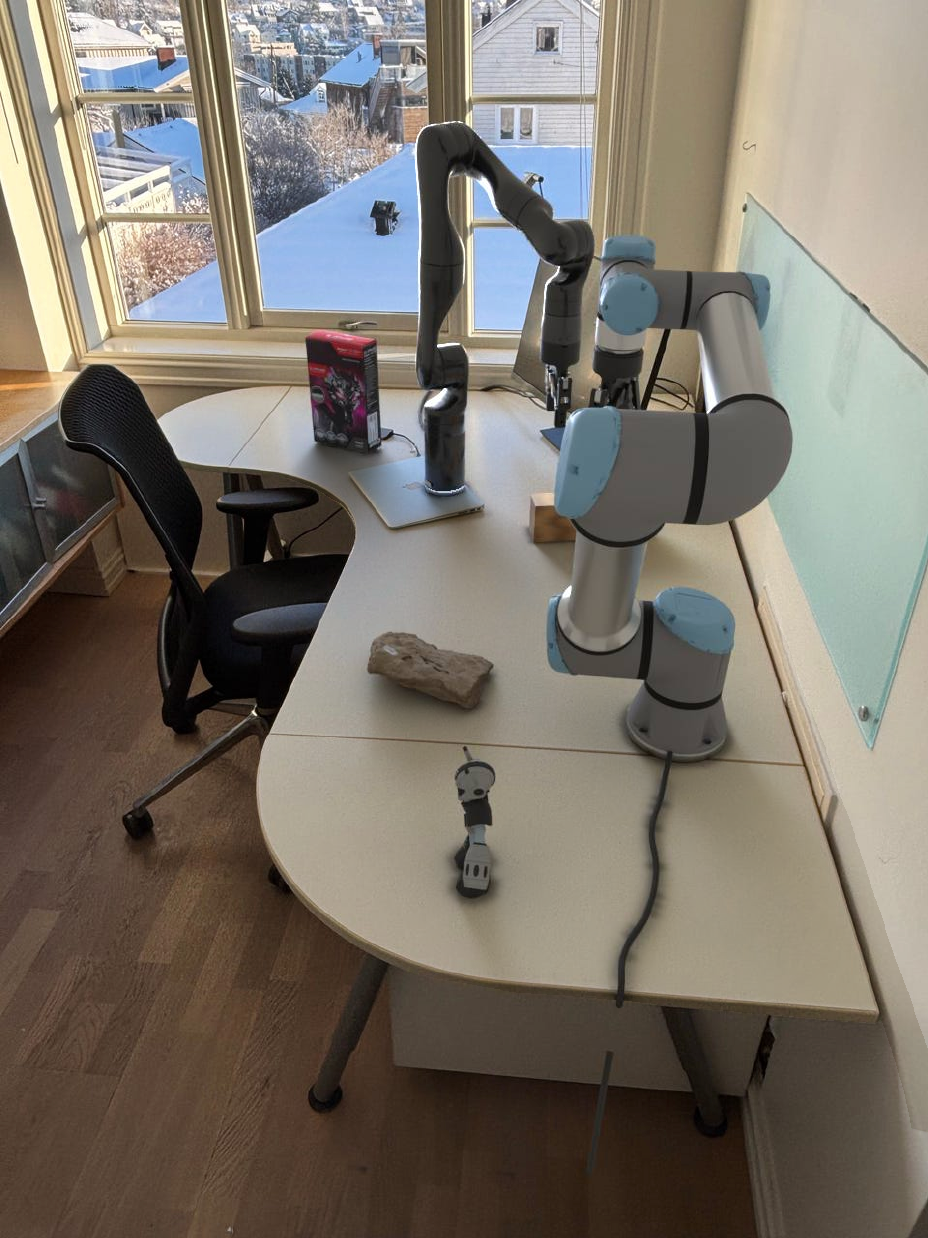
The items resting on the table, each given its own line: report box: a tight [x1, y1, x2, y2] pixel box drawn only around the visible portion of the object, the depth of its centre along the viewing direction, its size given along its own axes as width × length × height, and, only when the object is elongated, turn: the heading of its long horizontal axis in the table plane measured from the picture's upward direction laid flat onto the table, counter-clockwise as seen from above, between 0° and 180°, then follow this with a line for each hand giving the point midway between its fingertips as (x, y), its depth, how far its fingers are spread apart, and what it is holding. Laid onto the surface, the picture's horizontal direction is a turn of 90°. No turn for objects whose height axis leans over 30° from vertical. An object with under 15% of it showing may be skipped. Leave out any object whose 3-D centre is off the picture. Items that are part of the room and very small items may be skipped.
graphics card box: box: [304, 329, 382, 454], centre depth 226 cm, size 17×7×27 cm, turn 62°
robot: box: [453, 745, 496, 899], centre depth 114 cm, size 20×5×20 cm, turn 3°
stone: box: [366, 631, 495, 710], centre depth 151 cm, size 21×15×6 cm
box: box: [528, 492, 577, 543], centre depth 194 cm, size 25×6×8 cm, turn 96°
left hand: (555, 418), depth 181 cm, fingers open, 8 cm apart
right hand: (605, 475), depth 151 cm, fingers open, 13 cm apart
